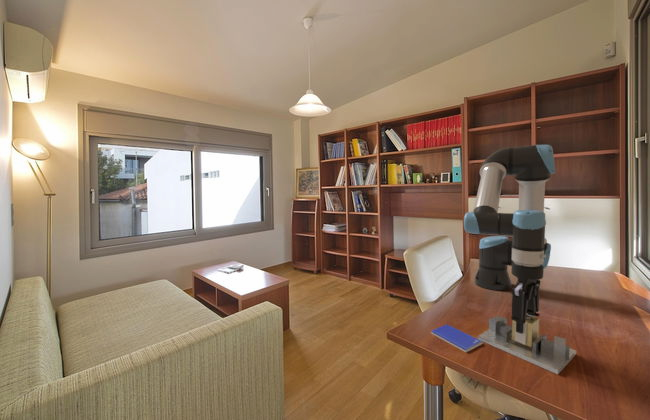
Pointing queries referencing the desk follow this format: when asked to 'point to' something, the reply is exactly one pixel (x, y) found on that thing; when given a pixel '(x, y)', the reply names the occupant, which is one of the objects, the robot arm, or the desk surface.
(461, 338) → the hard drive
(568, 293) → the desk surface
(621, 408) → the desk surface
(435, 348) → the desk surface
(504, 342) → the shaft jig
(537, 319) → the block
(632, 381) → the desk surface
